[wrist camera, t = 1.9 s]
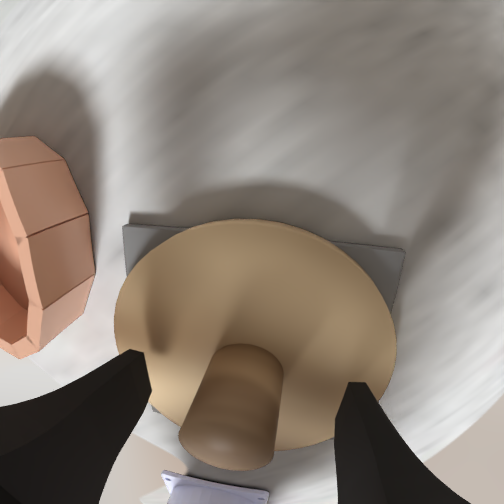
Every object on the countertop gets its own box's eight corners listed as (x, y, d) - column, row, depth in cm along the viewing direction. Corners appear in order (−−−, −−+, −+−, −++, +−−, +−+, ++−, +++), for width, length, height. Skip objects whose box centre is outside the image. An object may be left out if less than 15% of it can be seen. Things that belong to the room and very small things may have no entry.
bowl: (109, 342, 13) (69, 385, 9) (2, 302, 14) (-32, 325, 11) (87, 124, 9) (22, 123, 6) (-20, 152, 11) (-63, 160, 7)
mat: (342, 433, 12) (342, 439, 12) (155, 406, 14) (152, 411, 13) (401, 248, 9) (405, 252, 9) (127, 223, 10) (122, 226, 10)
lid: (350, 445, 12) (354, 514, 8) (145, 414, 14) (112, 472, 10) (423, 237, 9) (494, 294, 4) (109, 209, 10) (22, 243, 6)
